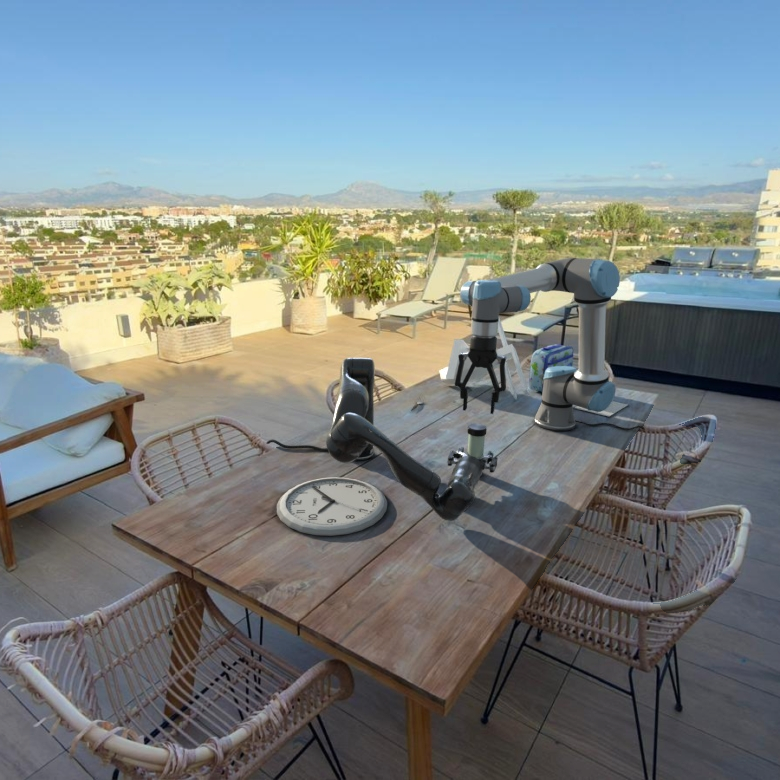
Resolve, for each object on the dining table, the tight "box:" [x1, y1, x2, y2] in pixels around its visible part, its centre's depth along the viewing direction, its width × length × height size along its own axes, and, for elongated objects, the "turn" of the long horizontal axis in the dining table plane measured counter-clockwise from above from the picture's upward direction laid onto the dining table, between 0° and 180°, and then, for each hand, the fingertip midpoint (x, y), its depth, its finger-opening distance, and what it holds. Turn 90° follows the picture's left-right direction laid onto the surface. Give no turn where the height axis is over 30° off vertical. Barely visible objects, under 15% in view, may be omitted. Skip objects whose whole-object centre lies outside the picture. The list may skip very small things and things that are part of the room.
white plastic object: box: [438, 317, 531, 400], centre depth 245 cm, size 37×45×31 cm
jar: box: [466, 434, 486, 477], centre depth 160 cm, size 5×5×15 cm
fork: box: [410, 395, 425, 412], centre depth 222 cm, size 3×16×2 cm, turn 160°
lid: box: [467, 422, 488, 436], centre depth 158 cm, size 6×6×2 cm
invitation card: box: [573, 400, 629, 418], centre depth 226 cm, size 21×1×15 cm
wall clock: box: [276, 476, 388, 537], centre depth 142 cm, size 30×2×30 cm
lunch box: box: [528, 344, 574, 393], centre depth 247 cm, size 26×11×21 cm, turn 134°
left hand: (476, 451), depth 162 cm, fingers open, 8 cm apart
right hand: (478, 410), depth 157 cm, fingers open, 7 cm apart
